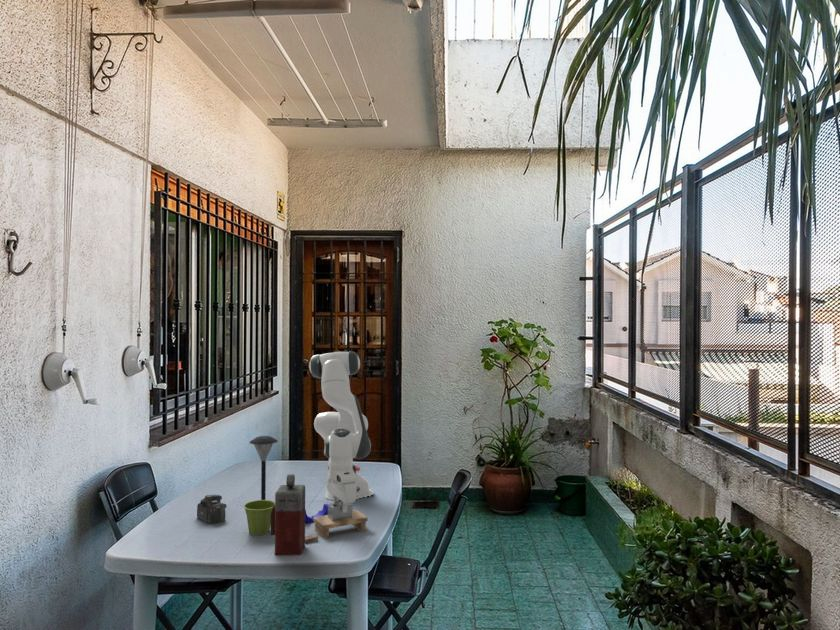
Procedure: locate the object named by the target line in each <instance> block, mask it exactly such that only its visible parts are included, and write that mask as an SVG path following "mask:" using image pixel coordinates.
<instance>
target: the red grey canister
mask: <svg viewBox="0 0 840 630" xmlns="http://www.w3.org/2000/svg"><path fill="white" fill-rule="evenodd" d="M295 477H296V476H295V474H290V473H289V474H287V475H286V482H285V483H286V484H281V485H279V487H278V489H277V490H276V492H275V495H274V496H275V497H274V502H275V504H274V506H273V508H272V511H271V525H270V536H274V556H302V554H303V551H304V550H305V547H306V543H305V536H306V522H305V510H306V486H305V484H295Z"/></svg>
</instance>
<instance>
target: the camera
mask: <svg viewBox="0 0 840 630" xmlns="http://www.w3.org/2000/svg"><path fill="white" fill-rule="evenodd" d="M222 499H223V497H222V495H221V494H206V495H205V496H204V497H203V498H202V499H201V500H200V502H199V503H197V506H196V507H197V508H196V517H197V518H198V519H199V520H201V521H203V522H205V523H206V524H207V523H208V524H211V525H213V524H219V523H223V522H225V521H226V508H227V504H226V503H224V502H221V501H222Z"/></svg>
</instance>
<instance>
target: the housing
mask: <svg viewBox="0 0 840 630" xmlns="http://www.w3.org/2000/svg"><path fill="white" fill-rule="evenodd" d="M327 504H328V518H329V519H330V520H332V521H337V520H342V519H348V518H352V510H353V503H351V504H349V505H348V507H347V512H342V511H341V510H342V509H341V507H342V506H343V503H342V501H339V502H334V501H332V503H327Z"/></svg>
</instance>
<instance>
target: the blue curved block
mask: <svg viewBox="0 0 840 630" xmlns="http://www.w3.org/2000/svg"><path fill="white" fill-rule="evenodd" d="M328 504H329V503H323V506H322V510H319V511H318V512H317V513H315V514H314V515H312V516H308V514H307V510H306V509H305V524H310V523H314V522H313V517H319V516H324V515H328Z"/></svg>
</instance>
